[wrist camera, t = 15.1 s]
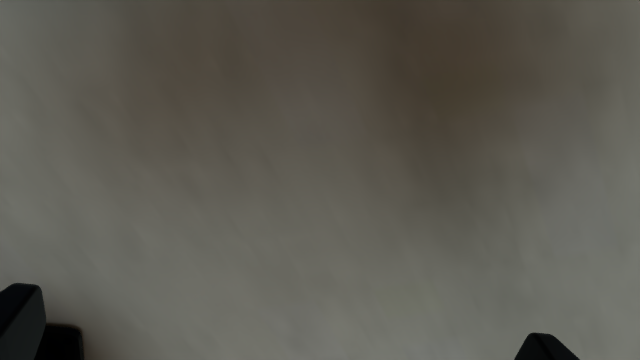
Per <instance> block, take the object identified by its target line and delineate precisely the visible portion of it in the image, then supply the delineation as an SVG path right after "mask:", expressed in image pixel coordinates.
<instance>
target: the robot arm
mask: <svg viewBox="0 0 640 360" xmlns="http://www.w3.org/2000/svg"><path fill="white" fill-rule="evenodd" d="M45 324H46V315H45V308H44V302H43V295H42V290H41V288H40V287H39V286H38V285H34V284H24V283H14V284H12V285H10V286H8V287H7V288H5V289H4V290H3V291H1V292H0V360H84V355H83V345H82V336H81V333H80V332H79V331H78V330H76V329H74V328H67V327H56V326H45ZM514 360H580V359H579V358H578V357H576V356H575V355H574V354H573V353H572V352H571V351H570V350H569V349H568V348H567V347H566V346H564V345H563V344H562V343H561V342H560V341H559V340H558V339H557V338H556V337H554V336H553V335H550V334H544V333H531V334H529V335H528V336H527V338H526V339H525V341H524V343H523V345H522V346H521V348H520V350H519V352H518V354H517V355H516V357H515V359H514Z"/></svg>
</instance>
